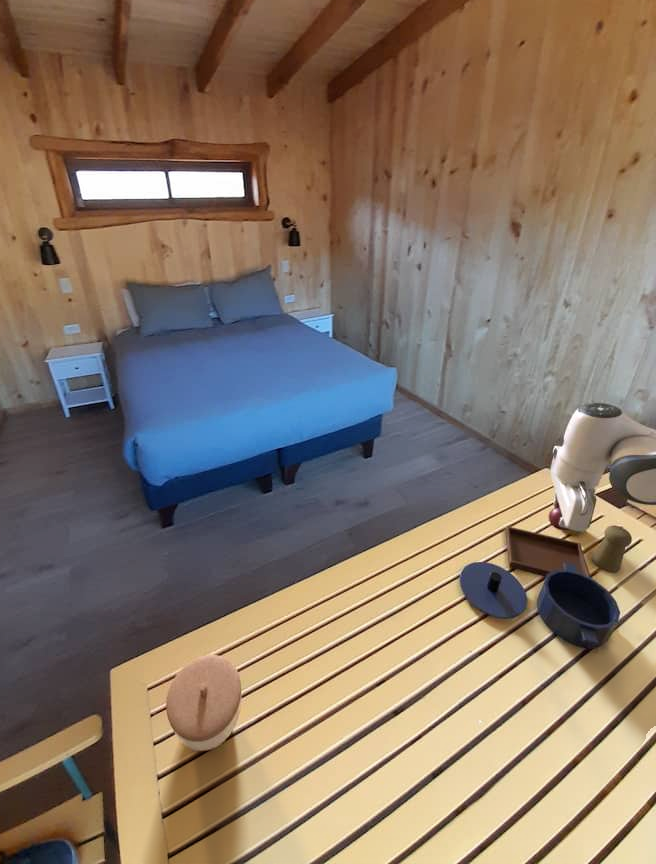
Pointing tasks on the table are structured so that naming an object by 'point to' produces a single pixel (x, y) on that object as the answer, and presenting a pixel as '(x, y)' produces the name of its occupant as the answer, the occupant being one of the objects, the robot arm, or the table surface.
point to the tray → (542, 552)
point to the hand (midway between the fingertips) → (559, 515)
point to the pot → (577, 608)
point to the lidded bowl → (204, 702)
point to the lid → (493, 590)
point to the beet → (556, 518)
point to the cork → (611, 549)
